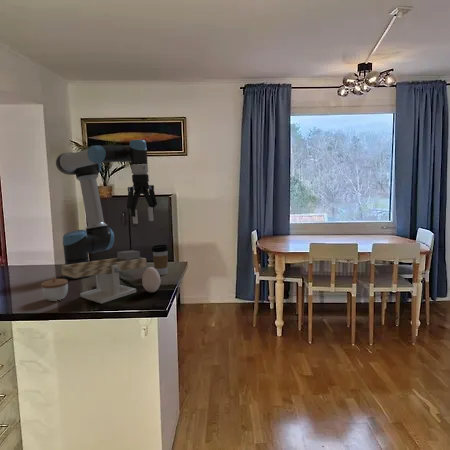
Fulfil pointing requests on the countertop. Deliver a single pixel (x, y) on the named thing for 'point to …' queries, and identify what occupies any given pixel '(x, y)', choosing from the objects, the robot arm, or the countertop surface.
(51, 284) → the lidded jar
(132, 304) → the countertop surface
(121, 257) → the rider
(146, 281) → the egg
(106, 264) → the beam
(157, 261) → the coffee cup
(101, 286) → the stand
